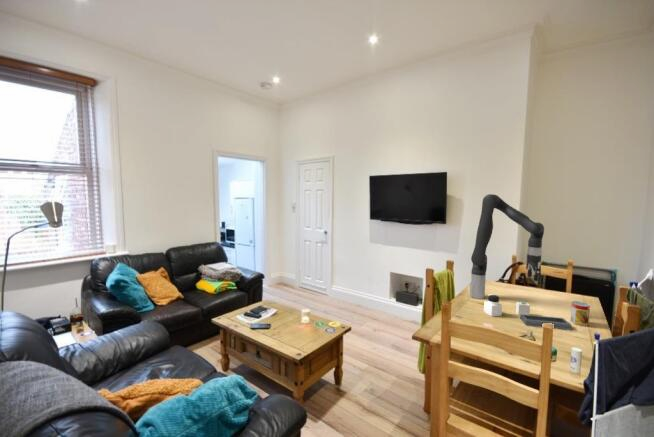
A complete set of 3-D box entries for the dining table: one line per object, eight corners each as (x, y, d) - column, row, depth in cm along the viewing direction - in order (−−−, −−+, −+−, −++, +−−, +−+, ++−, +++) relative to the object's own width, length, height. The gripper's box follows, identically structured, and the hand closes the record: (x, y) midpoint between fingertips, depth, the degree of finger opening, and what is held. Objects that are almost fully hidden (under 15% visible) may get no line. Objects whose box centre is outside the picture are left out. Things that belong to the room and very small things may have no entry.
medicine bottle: (501, 315, 179) (502, 297, 178) (491, 316, 178) (492, 297, 177) (493, 311, 186) (494, 293, 185) (483, 312, 185) (484, 293, 184)
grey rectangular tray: (526, 325, 166) (526, 320, 166) (519, 318, 176) (519, 313, 176) (571, 330, 161) (571, 325, 160) (562, 322, 170) (562, 317, 170)
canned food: (591, 327, 164) (593, 306, 163) (576, 325, 166) (577, 305, 165) (582, 320, 172) (583, 301, 171) (567, 319, 173) (568, 300, 172)
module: (518, 315, 180) (519, 302, 180) (515, 312, 184) (516, 300, 184) (529, 316, 179) (530, 303, 178) (526, 313, 183) (527, 301, 182)
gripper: (522, 251, 192) (521, 275, 193) (532, 256, 178) (530, 281, 179) (535, 251, 190) (533, 276, 191) (546, 256, 176) (544, 282, 178)
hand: (532, 278), depth 185 cm, fingers open, 8 cm apart
